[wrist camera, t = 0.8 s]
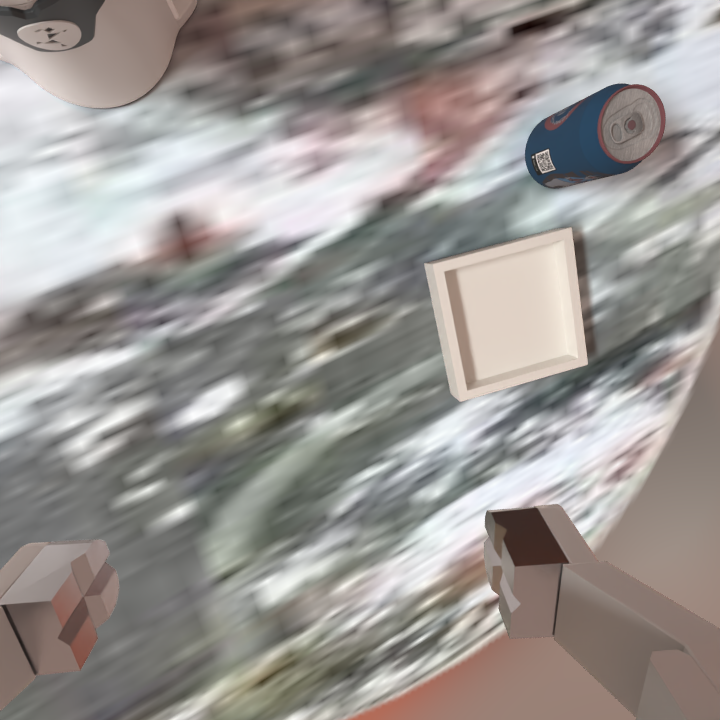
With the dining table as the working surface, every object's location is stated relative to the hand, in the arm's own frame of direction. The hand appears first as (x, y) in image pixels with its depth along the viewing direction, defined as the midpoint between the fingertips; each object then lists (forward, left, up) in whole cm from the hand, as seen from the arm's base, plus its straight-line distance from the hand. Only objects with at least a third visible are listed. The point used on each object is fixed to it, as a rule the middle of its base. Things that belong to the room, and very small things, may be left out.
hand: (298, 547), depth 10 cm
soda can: (-9, +30, -39) cm, 51 cm away
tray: (+6, +22, -39) cm, 46 cm away
